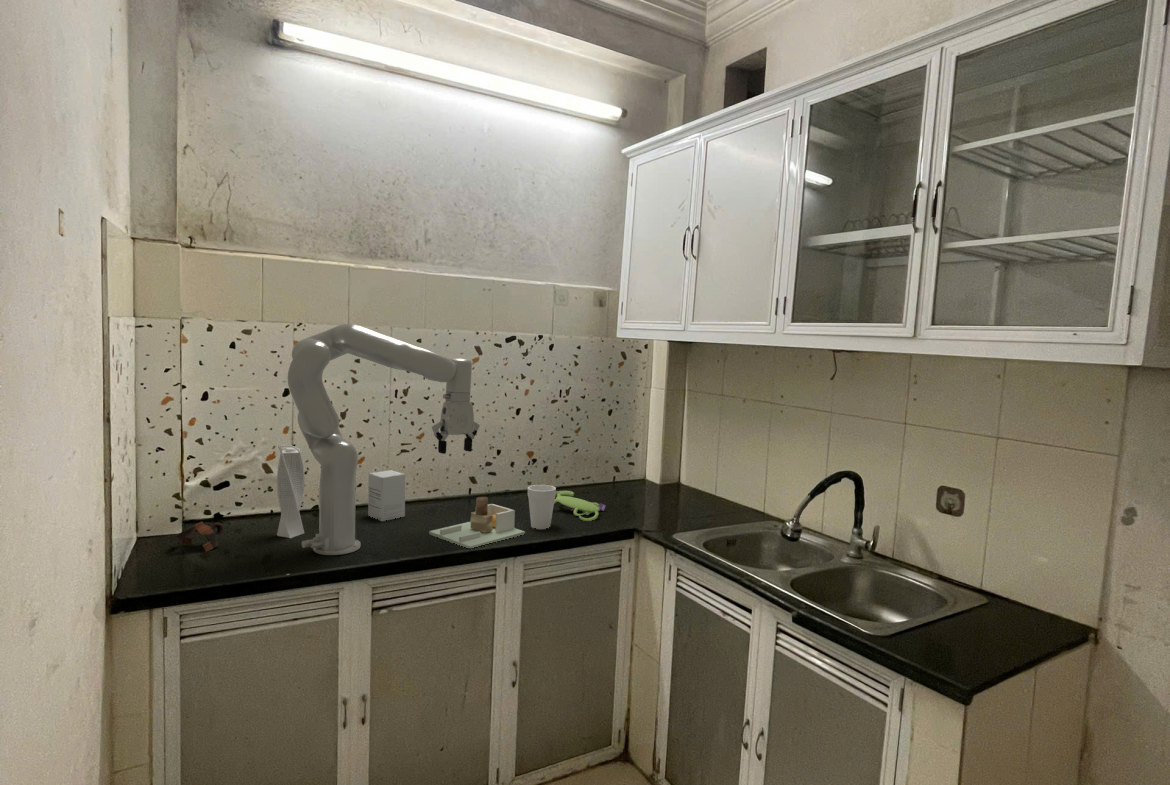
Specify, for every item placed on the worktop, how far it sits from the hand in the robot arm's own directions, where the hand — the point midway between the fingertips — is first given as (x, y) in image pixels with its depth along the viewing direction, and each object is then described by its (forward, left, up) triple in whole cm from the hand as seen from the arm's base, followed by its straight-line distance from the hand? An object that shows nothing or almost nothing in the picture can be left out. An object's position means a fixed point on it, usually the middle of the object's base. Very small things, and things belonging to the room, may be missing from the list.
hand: (455, 452), depth 199 cm
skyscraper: (-38, +30, -26) cm, 55 cm away
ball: (+11, -7, -23) cm, 26 cm away
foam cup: (+25, -14, -26) cm, 39 cm away
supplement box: (-6, +29, -26) cm, 39 cm away
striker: (+5, -7, -24) cm, 26 cm away
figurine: (+48, -7, -26) cm, 55 cm away
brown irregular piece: (-60, +35, -26) cm, 74 cm away
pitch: (+4, -7, -26) cm, 27 cm away
